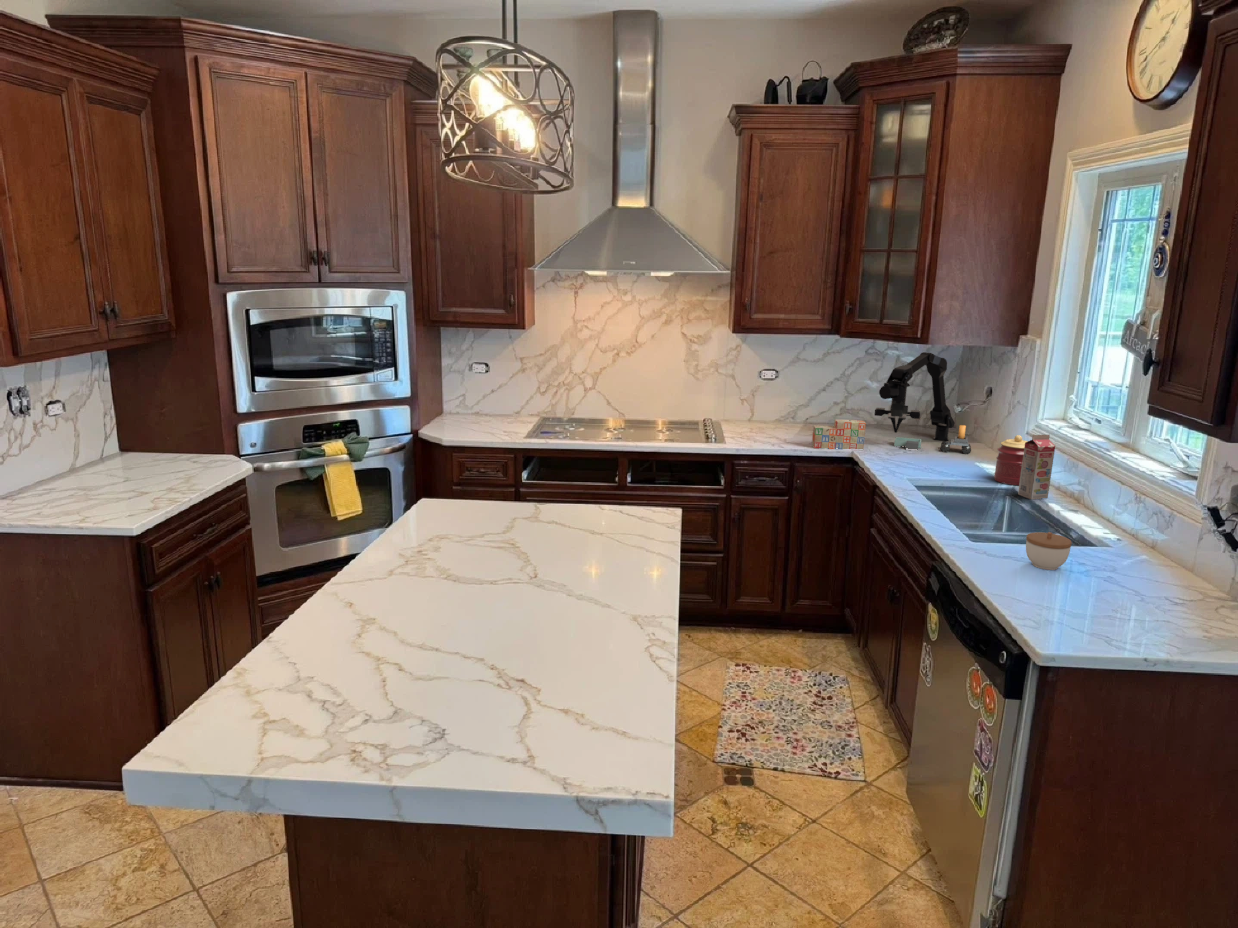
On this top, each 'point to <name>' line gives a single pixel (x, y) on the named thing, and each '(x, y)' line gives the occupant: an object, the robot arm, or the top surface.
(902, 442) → the tray
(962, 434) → the pin
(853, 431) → the stack of blocks
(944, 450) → the grey toy car
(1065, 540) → the lidded jar
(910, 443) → the block
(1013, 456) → the canister
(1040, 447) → the juice carton
